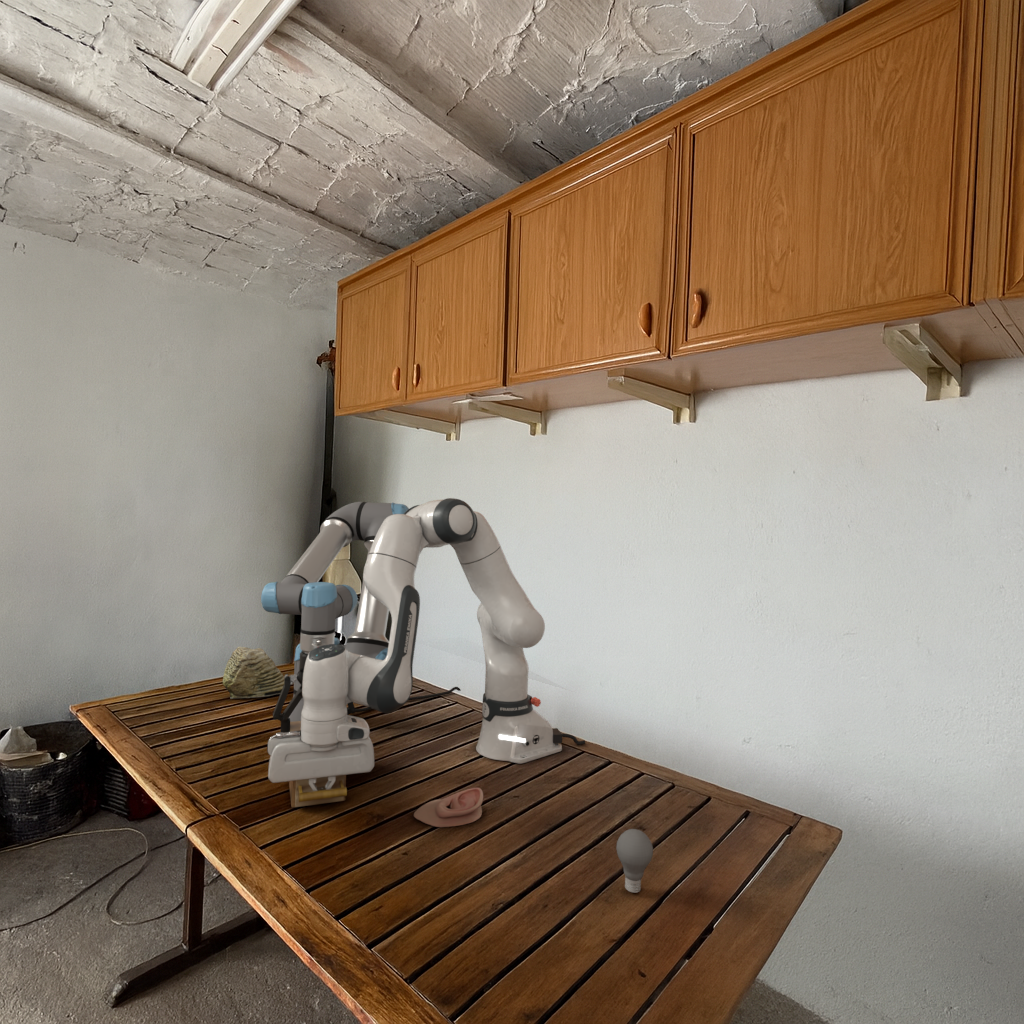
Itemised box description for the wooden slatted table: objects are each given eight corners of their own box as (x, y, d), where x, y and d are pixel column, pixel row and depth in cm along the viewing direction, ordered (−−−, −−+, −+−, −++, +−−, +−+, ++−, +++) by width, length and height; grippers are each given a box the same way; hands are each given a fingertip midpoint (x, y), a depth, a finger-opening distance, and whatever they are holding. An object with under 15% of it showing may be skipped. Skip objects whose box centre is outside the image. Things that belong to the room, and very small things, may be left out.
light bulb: (610, 879, 108) (613, 822, 108) (644, 879, 109) (647, 822, 109) (619, 902, 102) (622, 840, 102) (655, 901, 103) (658, 840, 103)
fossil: (218, 695, 195) (220, 647, 195) (278, 685, 208) (279, 640, 207) (228, 703, 189) (230, 653, 188) (289, 692, 201) (290, 645, 201)
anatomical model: (408, 802, 124) (427, 778, 135) (407, 822, 124) (427, 796, 136) (473, 812, 122) (488, 786, 133) (473, 832, 122) (487, 805, 133)
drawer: (347, 813, 126) (348, 768, 125) (297, 820, 122) (298, 774, 122) (333, 764, 148) (334, 726, 148) (290, 769, 144) (292, 730, 144)
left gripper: (263, 657, 137) (259, 758, 138) (370, 652, 146) (366, 747, 146) (262, 649, 144) (259, 745, 145) (365, 644, 153) (361, 735, 153)
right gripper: (268, 739, 119) (265, 812, 119) (377, 729, 127) (374, 797, 127) (267, 727, 125) (264, 797, 125) (372, 718, 133) (369, 784, 133)
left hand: (313, 746), depth 145 cm, fingers closed on cabinet, 11 cm apart
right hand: (321, 797), depth 126 cm, fingers closed
